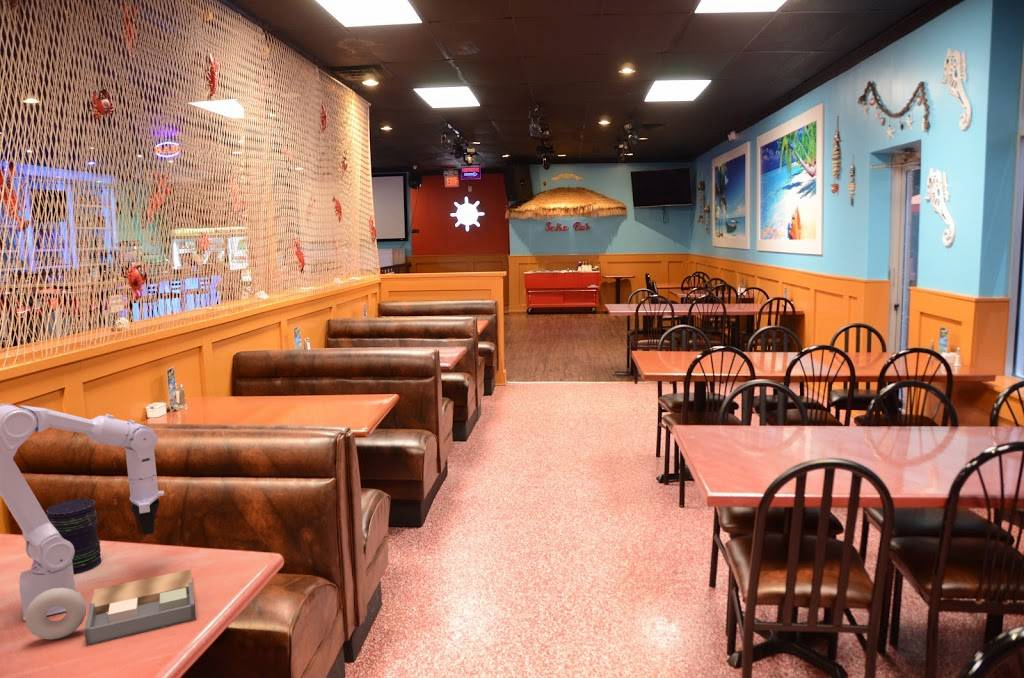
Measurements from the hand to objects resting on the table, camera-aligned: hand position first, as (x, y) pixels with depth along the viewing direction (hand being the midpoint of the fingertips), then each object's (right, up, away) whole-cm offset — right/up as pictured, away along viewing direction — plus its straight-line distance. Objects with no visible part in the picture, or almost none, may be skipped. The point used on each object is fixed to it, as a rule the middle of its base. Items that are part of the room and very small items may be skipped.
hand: (148, 533), depth 164 cm
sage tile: (+13, -11, -16) cm, 23 cm away
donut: (-4, -13, -26) cm, 30 cm away
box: (+9, -12, -20) cm, 25 cm away
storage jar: (-20, -10, +6) cm, 23 cm away
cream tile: (+5, -11, -19) cm, 23 cm away
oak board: (+5, -11, -11) cm, 16 cm away
